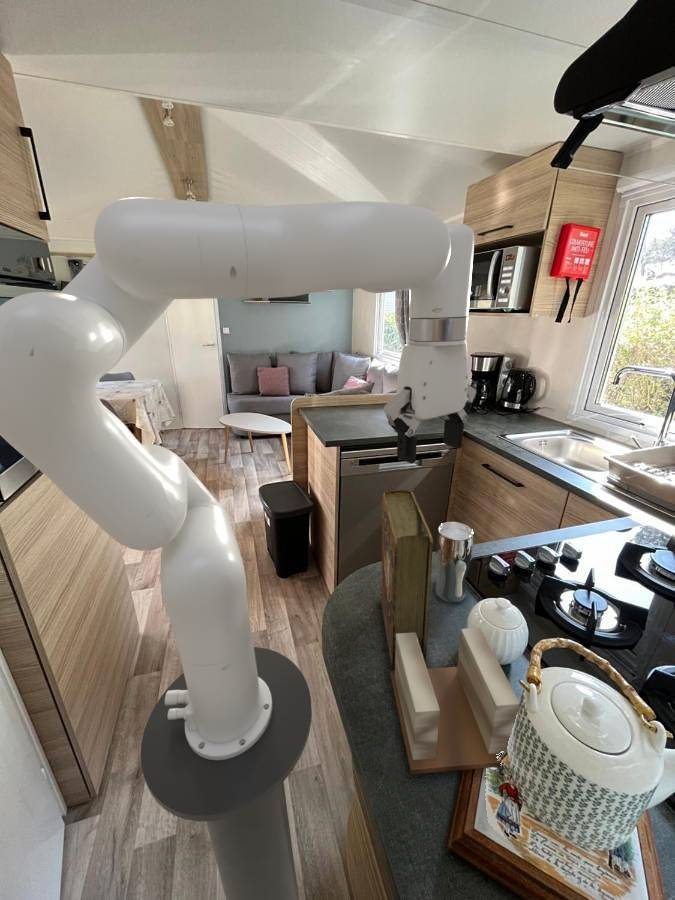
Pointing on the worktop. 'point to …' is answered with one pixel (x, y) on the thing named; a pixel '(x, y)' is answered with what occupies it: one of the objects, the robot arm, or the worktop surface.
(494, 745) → the book rack
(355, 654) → the worktop surface
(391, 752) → the worktop surface
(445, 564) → the silver metal cylinder
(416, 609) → the book
